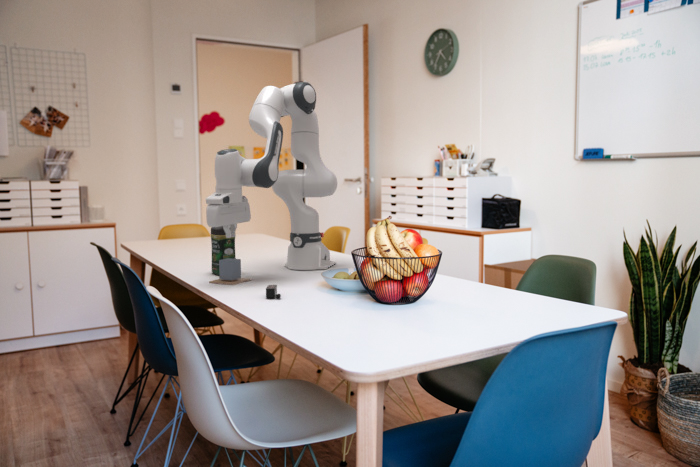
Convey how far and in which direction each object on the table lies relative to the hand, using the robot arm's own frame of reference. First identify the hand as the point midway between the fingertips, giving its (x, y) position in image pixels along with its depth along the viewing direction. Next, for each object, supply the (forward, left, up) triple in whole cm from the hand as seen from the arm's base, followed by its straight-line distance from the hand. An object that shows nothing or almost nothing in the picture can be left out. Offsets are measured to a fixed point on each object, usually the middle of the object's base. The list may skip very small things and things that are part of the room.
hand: (230, 237), depth 197 cm
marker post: (+1, 0, -15) cm, 15 cm away
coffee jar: (-11, -12, -16) cm, 23 cm away
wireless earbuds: (+16, +28, -16) cm, 35 cm away
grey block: (+1, 0, -14) cm, 14 cm away
